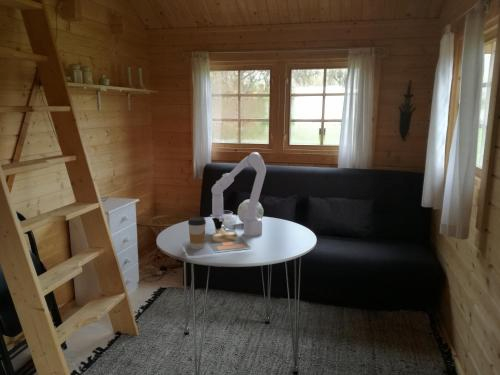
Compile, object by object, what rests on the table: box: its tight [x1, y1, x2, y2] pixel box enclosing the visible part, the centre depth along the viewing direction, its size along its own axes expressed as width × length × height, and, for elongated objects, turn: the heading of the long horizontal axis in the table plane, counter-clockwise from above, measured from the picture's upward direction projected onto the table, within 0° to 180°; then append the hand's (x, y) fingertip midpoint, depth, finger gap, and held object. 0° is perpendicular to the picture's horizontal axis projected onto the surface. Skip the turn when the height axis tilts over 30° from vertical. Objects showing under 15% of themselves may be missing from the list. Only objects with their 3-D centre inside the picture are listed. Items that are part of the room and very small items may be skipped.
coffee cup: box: [187, 216, 207, 250], centre depth 190 cm, size 8×8×15 cm
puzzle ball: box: [237, 198, 264, 224], centre depth 232 cm, size 15×15×15 cm
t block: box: [211, 227, 238, 242], centre depth 205 cm, size 12×12×3 cm
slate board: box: [205, 233, 251, 254], centre depth 200 cm, size 18×26×1 cm
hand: (218, 231), depth 213 cm, fingers closed
